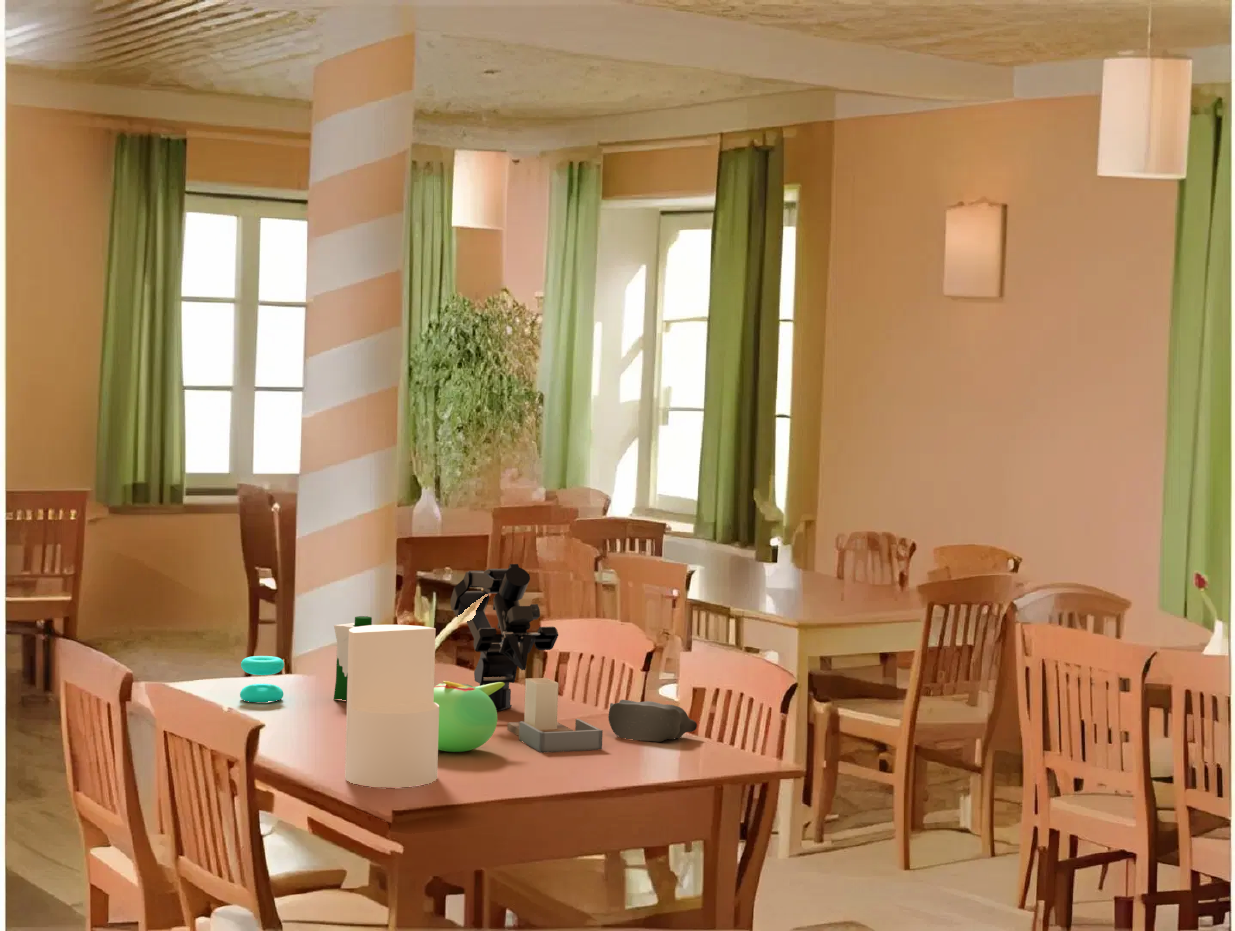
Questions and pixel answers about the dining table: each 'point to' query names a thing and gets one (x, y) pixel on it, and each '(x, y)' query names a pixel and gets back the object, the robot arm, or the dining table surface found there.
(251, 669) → the donuts
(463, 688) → the green rounded body
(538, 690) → the cream rectangular block
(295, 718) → the dining table surface
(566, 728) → the board
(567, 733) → the tray
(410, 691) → the cylinder
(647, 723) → the dark grey bottle
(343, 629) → the milk carton
